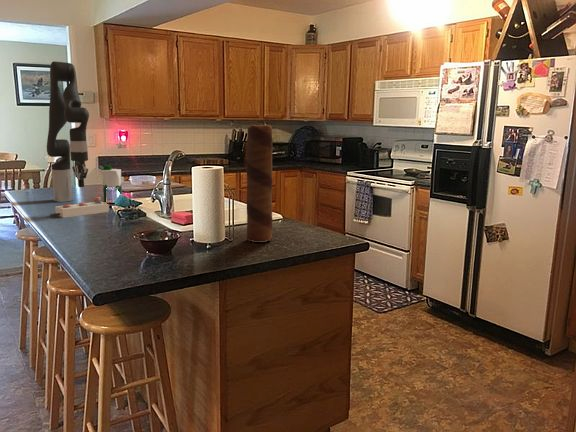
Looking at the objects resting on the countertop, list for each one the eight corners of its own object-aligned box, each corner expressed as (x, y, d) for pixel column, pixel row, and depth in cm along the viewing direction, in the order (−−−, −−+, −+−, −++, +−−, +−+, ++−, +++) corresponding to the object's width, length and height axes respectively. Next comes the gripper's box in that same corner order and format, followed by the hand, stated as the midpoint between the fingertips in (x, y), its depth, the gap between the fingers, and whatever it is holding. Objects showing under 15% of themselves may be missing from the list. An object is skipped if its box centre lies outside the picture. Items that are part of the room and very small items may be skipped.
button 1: (62, 210, 226) (61, 204, 225) (68, 209, 228) (68, 204, 228) (64, 211, 224) (64, 205, 223) (71, 210, 226) (71, 205, 226)
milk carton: (108, 200, 265) (106, 164, 261) (124, 201, 265) (122, 165, 261) (101, 203, 257) (99, 166, 253) (118, 204, 257) (116, 166, 252)
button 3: (93, 202, 236) (93, 197, 236) (99, 201, 238) (99, 196, 238) (96, 203, 234) (95, 198, 234) (102, 202, 236) (101, 197, 236)
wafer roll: (248, 244, 182) (249, 124, 173) (243, 238, 192) (244, 124, 183) (275, 243, 185) (277, 125, 176) (269, 236, 195) (270, 124, 186)
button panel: (47, 215, 224) (46, 206, 223) (101, 209, 243) (100, 200, 242) (54, 219, 218) (53, 209, 217) (109, 211, 236) (108, 202, 235)
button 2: (78, 208, 231) (78, 203, 231) (84, 207, 233) (84, 202, 233) (80, 209, 229) (80, 203, 229) (87, 208, 231) (86, 203, 231)
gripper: (65, 149, 228) (67, 186, 231) (76, 152, 218) (79, 189, 222) (81, 149, 233) (83, 184, 236) (92, 151, 224) (95, 188, 227)
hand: (81, 186), depth 229 cm, fingers closed
